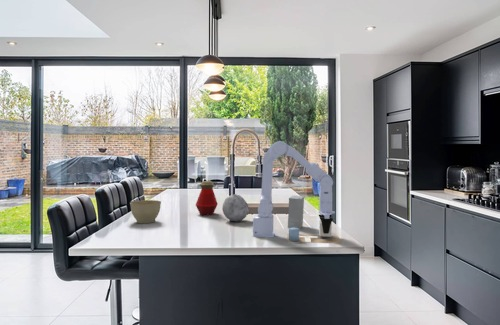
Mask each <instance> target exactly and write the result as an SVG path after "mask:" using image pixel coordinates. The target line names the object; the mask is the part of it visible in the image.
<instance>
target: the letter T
mask: <svg viewBox="0 0 500 325" xmlns="http://www.w3.org/2000/svg"><path fill="white" fill-rule="evenodd" d="M299 237H305V242H304V243H309V242H311V239H310V238H318V237H317V236H299Z"/></svg>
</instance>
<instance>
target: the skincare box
mask: <svg viewBox="0 0 500 325" xmlns="http://www.w3.org/2000/svg"><path fill="white" fill-rule="evenodd" d="M304 206H305V196H301V195H291V196H290V197H288V211H287V212H288V215H287V217H288V218H287V229H289V228H299V230H300V229H301V228H302V227H303V224H304V209H305V208H304Z"/></svg>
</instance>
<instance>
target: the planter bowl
mask: <svg viewBox="0 0 500 325" xmlns="http://www.w3.org/2000/svg"><path fill="white" fill-rule="evenodd" d="M161 204H162V201H161V200H154V199H149V200H148V199H147V200H146V199H145V200H144V199H143V200H136V201H135V200H134V201H131V202H129V205H130V211H131V214H132V216H133V218H134V220H136V223H138V224H151V223H154V222H156V220H157V217H158V216H159V213H160V212H161Z"/></svg>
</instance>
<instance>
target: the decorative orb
mask: <svg viewBox="0 0 500 325" xmlns="http://www.w3.org/2000/svg"><path fill="white" fill-rule="evenodd" d="M221 210H222V213H223V214H224V216H225V218H226V219H227V220H229V221H231V222H241V221H242V220H244V219H245V218H247V216H248V215H249V212H250V207H249V204H248V203H247V201H246V200H245V199H244V197H243V196H242V195H240V194H237V193H235V194H234V193H232V195H229V196H227V197H226V198H225V199H224V200H223V203H222V209H221Z"/></svg>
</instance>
